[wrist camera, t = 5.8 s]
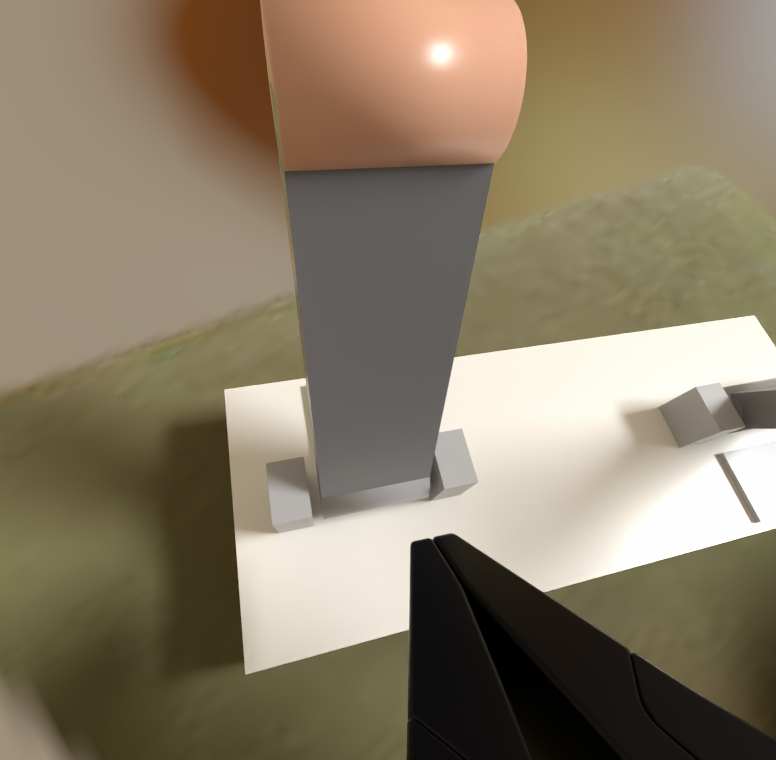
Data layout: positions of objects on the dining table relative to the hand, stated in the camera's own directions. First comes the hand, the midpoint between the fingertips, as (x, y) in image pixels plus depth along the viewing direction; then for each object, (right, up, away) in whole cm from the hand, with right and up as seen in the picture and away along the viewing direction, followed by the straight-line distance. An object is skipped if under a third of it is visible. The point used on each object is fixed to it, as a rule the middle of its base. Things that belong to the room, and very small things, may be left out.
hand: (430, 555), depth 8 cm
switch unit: (+5, 0, +9) cm, 10 cm away
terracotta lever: (-1, 0, +4) cm, 5 cm away
